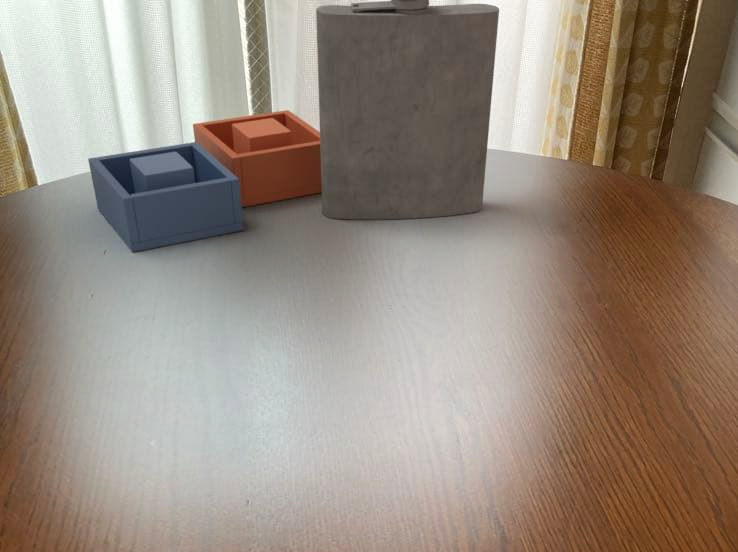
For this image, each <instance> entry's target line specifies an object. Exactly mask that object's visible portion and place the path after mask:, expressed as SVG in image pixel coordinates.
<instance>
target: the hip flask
mask: <svg viewBox="0 0 738 552" xmlns="http://www.w3.org/2000/svg"><path fill="white" fill-rule="evenodd" d="M315 14H316V15H315V18H316V19H315V20H316V21H315V22H316V50H317V78H318V79H317V80H318V81H317V84H318V111H319V113H318V115H319V132H320V149H321V181H322V192H321V208H322V209H321V211H322V214H323V216H325V217H326V218H330V219H335V220H336V219H337V220H360V221H361V220H363V221H364V220H365V221H366V220H367V221H369V220H373V221H374V220H376V221H377V220H407V219H426V218H438V217H449V216H457V215H458V214H459V215H465V214H466V213H467V214H473V212H474V213H478V212H480V211H481V210H482V209H483V200H484V189H485V177H486V167H487V153H488V144H489V143H488V142H489V132H490V121H491V120H490V119H491V109H492V97H493V96H492V95H493V85H494V76H495V75H494V74H495V63H496V53H497V52H496V50H497V39H498V29H499V18H500V17H499V15H500V8H499V7H498V6H496V5H493V4H488V3H487V4H486V3H466V4H445V5H443V4H442V5H430V0H384V1H383V0H381V1H366V2H365V1H364V2H352V3H350V5H341V4H329V5H328V4H327V5H326V4H325V5H321V6H318V7H317V8H316V9H315ZM459 215H458V216H459Z"/></svg>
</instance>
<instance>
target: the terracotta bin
mask: <svg viewBox="0 0 738 552" xmlns="http://www.w3.org/2000/svg"><path fill="white" fill-rule="evenodd" d="M269 118H274V119H275V120H276V121H278V122H279V123H280V124H282V125H283V126H285V127H286V128H287V129H289V130H290V131H291V134H292V145H291V146H285V147H279V148H273V149H267V150H261V151H254V152H248V153H242V154H238V155H237V154H236V153H235V152H234V143H233V132H232V124H235V123H242V122H249V121H255V120H262V119H269ZM192 129H193V137H194V142H198V143H199V144H200V145H201V146H202V147H203V148H204V149H206V150H207V151H208V152H209V153H210V154H211V155H212V156H213V157H215V158H216V159H217V160H218V161H219V162H220V163H221V164H222V165H224V166H225V167H226V168H227V169H228V170H229V171H230V172H231V173H233V174H234V175H235V176H236V177H237V178H238V179H239V186H240V197H241V208H245V207H251V206H256V205H262V204H267V203H272V202H273V203H274V202H277V201H278V202H279V201H282V200H284V201H285V200H288V199H293V198H294V199H295V198H298V197H299V198H300V197H305V196H310V195H315V194H322V181H321V149H320V130H318V129H316V128H314V127H313V126H312V125H311V124H309V123H308V122H306V121H305V120H303V119H302V118H300V117H299V116H298V115H296V114H295V113H293V112H292V111H290V110H289V109H287V110H280V111H273V112H266V113H259V114H253V115H251V114H250V115H246V116H239V117H230V118H224V119H217V120H211V121H203V122H197V123H192Z"/></svg>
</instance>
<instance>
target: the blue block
mask: <svg viewBox="0 0 738 552" xmlns="http://www.w3.org/2000/svg"><path fill="white" fill-rule="evenodd" d="M130 166H131V172H132V178H133V184H134V190H135V193H141V192H147V191H153V190H158V189H164V188H170V187H176V186H182V185H187V184H193V183H195V178H194V170H193V167H192V166H191V165H190V164H189V163H188V162H187V161H186V160H185V159H184V158H183V157H181V156H180V155H179V154H178V153H177V152H170V153H164V154H158V155H151V156H145V157H138V158H132V159H130Z"/></svg>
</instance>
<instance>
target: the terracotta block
mask: <svg viewBox="0 0 738 552" xmlns="http://www.w3.org/2000/svg"><path fill="white" fill-rule="evenodd" d="M232 132H233V143H234V152H235V153H236V154H237V155H238V154H242V153H248V152H254V151H261V150H267V149H273V148H279V147H285V146H291V145H292V134H291V131H290V130H289V129H287V128H286V127H285V126H283V125H282V124H280V123H279V122H278V121H276V120H275V119H274V118H269V119H262V120H255V121H249V122H242V123H235V124H232Z"/></svg>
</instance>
